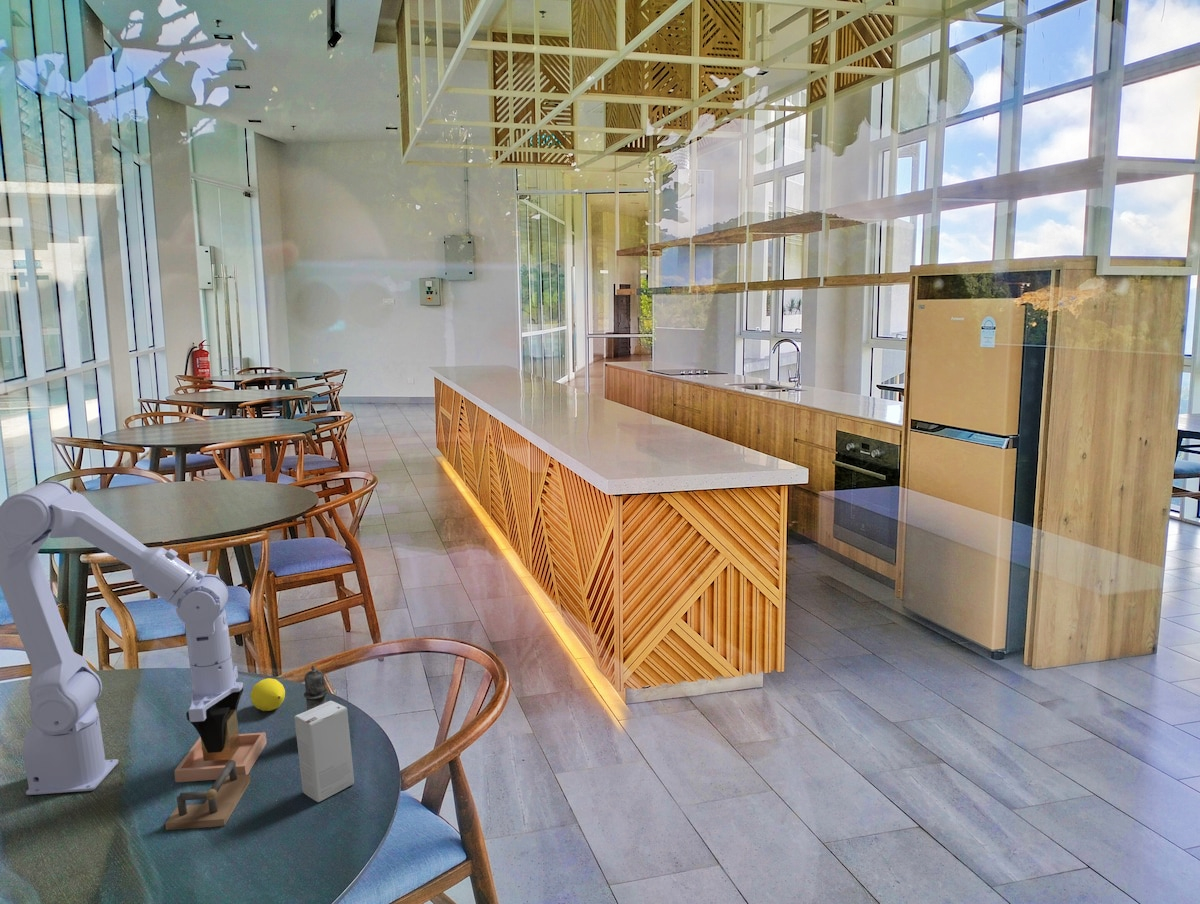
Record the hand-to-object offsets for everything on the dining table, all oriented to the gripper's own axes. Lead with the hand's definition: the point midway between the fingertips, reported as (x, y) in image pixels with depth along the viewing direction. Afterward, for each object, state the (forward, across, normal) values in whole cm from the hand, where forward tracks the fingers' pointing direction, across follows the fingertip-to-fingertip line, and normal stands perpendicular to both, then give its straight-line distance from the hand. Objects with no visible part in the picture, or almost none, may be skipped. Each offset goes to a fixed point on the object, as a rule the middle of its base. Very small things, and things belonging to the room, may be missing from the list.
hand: (220, 743), depth 131 cm
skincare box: (+3, -10, -18) cm, 21 cm away
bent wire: (+3, -11, -2) cm, 12 cm away
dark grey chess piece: (+3, +6, -13) cm, 15 cm away
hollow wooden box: (+2, 0, 0) cm, 2 cm away
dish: (+3, 0, 0) cm, 3 cm away
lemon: (+3, +17, -2) cm, 17 cm away
